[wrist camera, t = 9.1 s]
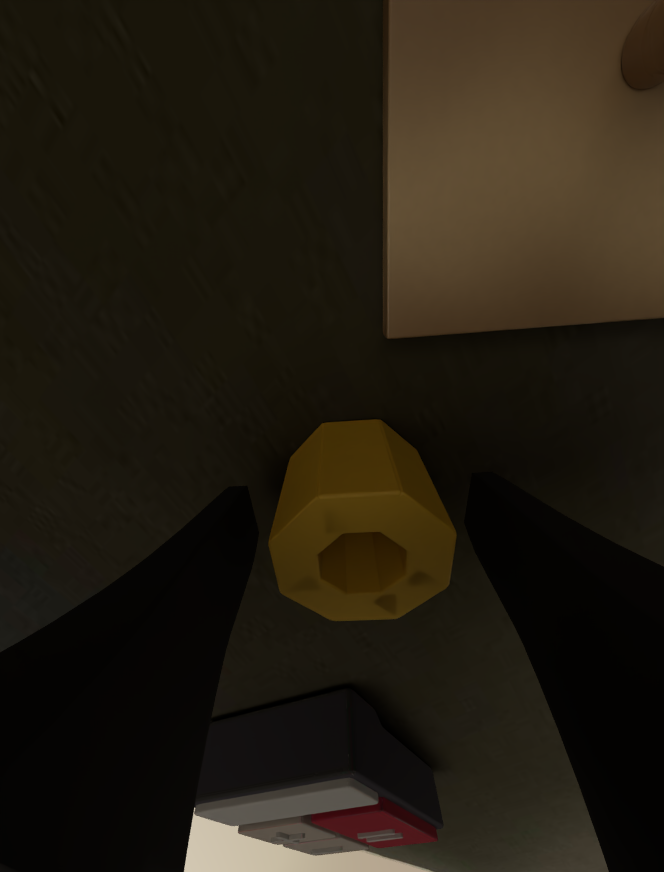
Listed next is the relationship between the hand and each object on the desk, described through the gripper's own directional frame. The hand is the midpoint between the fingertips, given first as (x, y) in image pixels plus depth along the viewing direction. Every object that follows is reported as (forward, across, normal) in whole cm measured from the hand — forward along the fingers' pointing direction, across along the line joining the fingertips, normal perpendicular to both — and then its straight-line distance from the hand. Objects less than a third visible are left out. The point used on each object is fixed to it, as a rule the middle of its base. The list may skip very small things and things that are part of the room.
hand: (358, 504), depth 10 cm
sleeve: (+2, 0, 0) cm, 2 cm away
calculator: (+2, +3, +24) cm, 24 cm away
